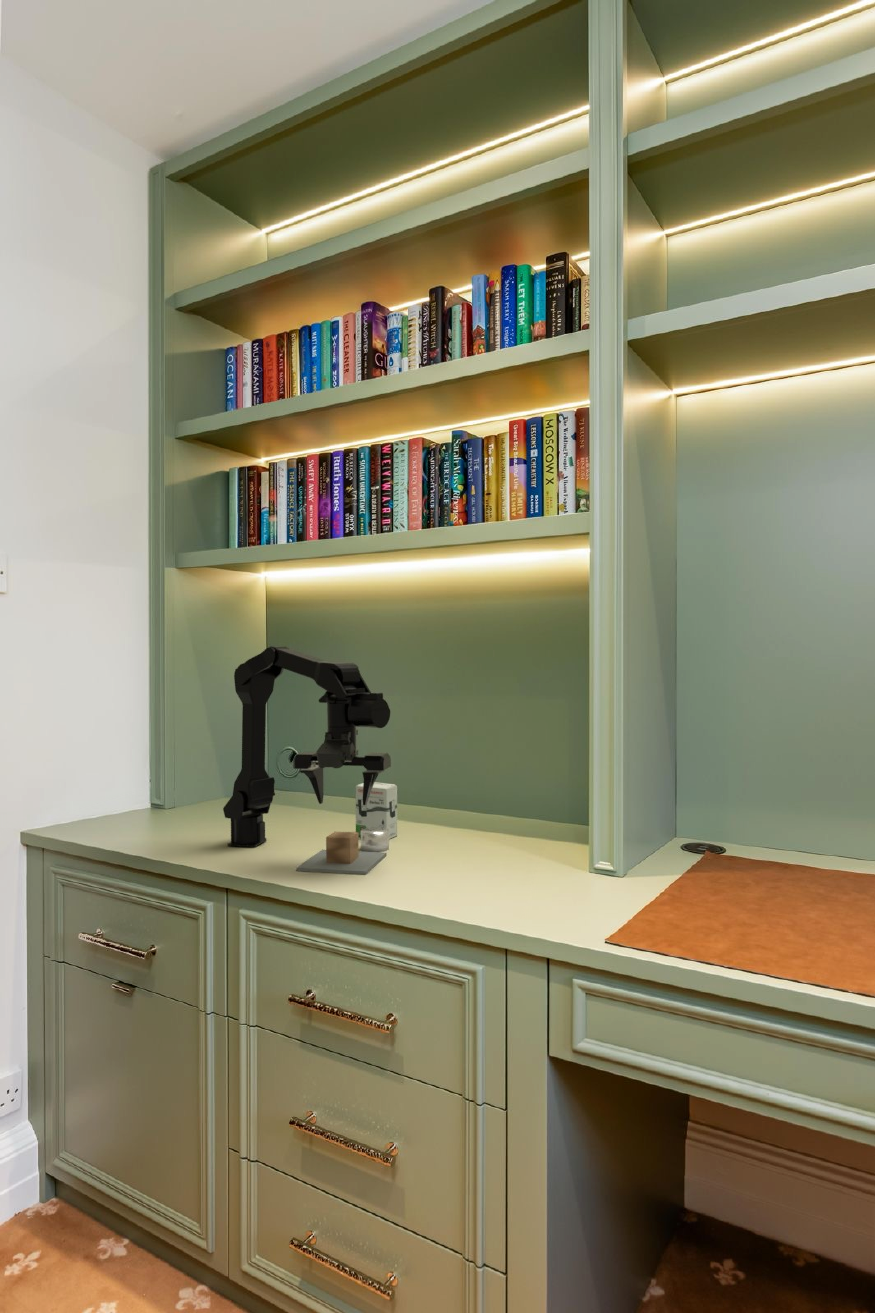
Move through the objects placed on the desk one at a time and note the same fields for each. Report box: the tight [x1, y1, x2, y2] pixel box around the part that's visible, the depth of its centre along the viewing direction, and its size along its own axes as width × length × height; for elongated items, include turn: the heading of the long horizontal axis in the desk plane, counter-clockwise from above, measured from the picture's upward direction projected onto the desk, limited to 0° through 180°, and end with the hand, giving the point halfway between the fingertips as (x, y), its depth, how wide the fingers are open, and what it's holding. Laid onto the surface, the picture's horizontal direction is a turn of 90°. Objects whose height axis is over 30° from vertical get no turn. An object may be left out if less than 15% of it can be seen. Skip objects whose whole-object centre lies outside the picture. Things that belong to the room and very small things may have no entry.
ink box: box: [355, 781, 398, 840], centre depth 181 cm, size 9×5×12 cm, turn 62°
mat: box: [295, 849, 387, 875], centre depth 159 cm, size 14×14×1 cm
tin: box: [360, 827, 390, 853], centre depth 170 cm, size 6×6×4 cm
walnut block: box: [325, 831, 360, 864], centre depth 159 cm, size 5×5×5 cm
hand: (342, 804), depth 159 cm, fingers open, 9 cm apart
